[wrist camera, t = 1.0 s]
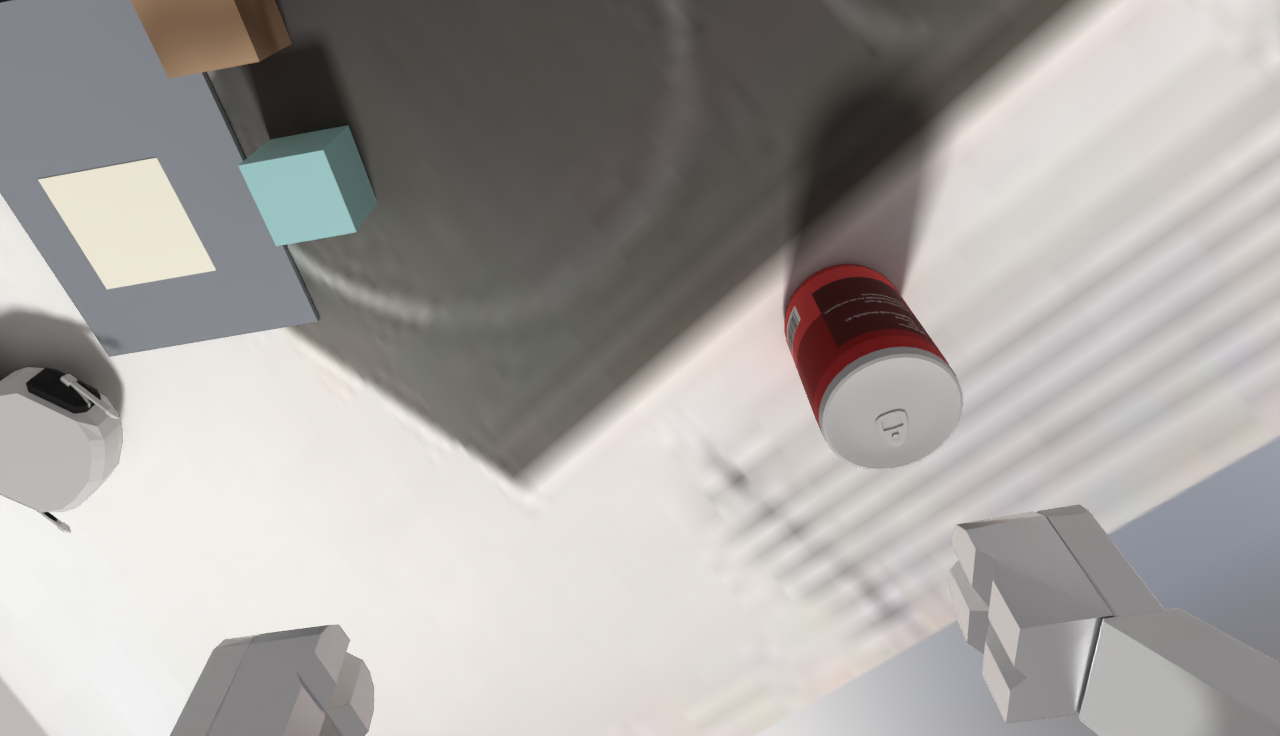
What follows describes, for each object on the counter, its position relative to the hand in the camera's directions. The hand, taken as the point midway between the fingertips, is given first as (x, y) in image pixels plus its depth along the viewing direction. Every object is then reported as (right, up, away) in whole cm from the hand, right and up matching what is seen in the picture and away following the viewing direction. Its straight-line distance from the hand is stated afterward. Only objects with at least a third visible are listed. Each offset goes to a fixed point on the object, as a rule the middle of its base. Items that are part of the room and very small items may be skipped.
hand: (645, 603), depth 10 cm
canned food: (+13, +7, +40) cm, 42 cm away
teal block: (-18, +14, +33) cm, 40 cm away
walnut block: (-21, +22, +28) cm, 41 cm away
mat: (-29, +13, +33) cm, 46 cm away
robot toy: (-42, +1, +41) cm, 59 cm away
